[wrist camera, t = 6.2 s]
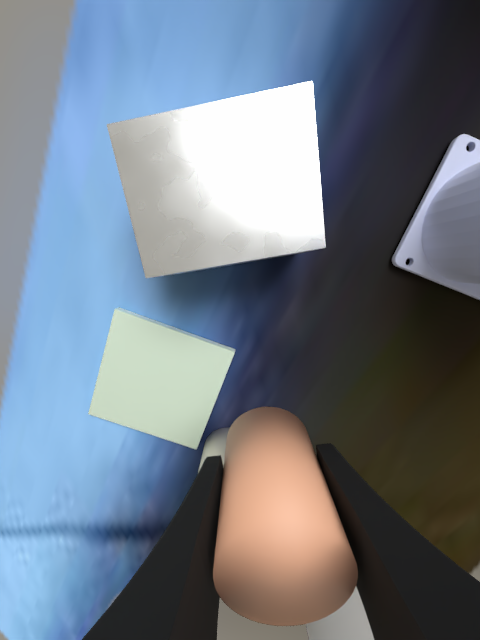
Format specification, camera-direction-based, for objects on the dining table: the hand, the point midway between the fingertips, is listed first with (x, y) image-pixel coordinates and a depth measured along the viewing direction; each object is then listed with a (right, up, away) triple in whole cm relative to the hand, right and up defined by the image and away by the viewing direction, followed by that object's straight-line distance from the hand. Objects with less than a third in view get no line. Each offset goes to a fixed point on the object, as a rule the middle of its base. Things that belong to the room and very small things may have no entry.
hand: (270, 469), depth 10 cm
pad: (-7, +2, +8) cm, 11 cm away
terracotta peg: (0, 0, +1) cm, 2 cm away
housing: (-2, +13, +6) cm, 14 cm away
